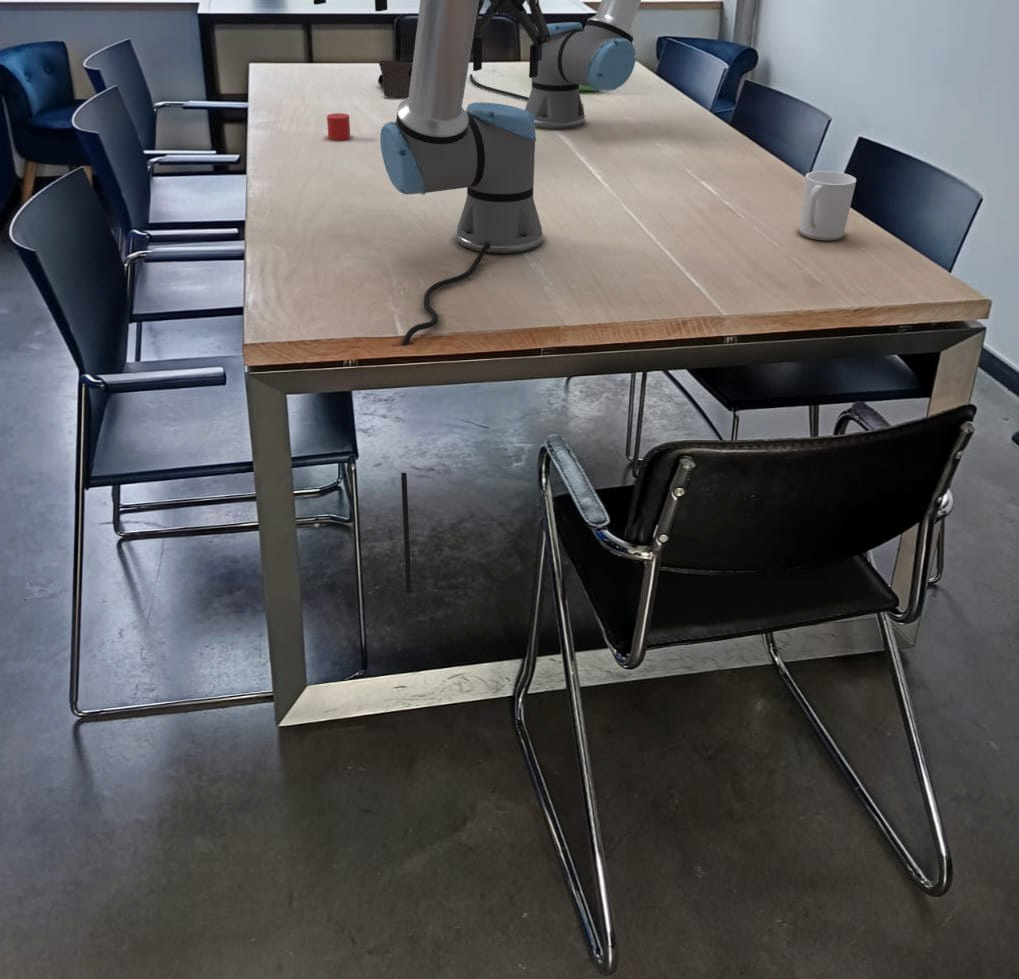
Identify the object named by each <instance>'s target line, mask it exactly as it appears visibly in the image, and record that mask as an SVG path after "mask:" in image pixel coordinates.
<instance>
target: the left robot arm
mask: <svg viewBox="0 0 1019 979" xmlns="http://www.w3.org/2000/svg"><path fill="white" fill-rule="evenodd" d="M324 4H327V0H313V5H317V6H318V5H324ZM478 4H479V0H420V1H419V8H418V15H417V16H418V17H417V26H416V33H415V42H414V49H413V59H412V60H413V61H412V63H413V66H412V74H411V82H410V90H409V97H408V98H404V99H403V100H402V101H401V102H400V103H399V104H398V106H397V112H396V120H395V122H394V121H389V122H387V123H384V125H383V126H382V127H381V130H380V136H379V137H380V141H379V142H380V151H381V156H382V160H383V164H384V168H385V171H386V173H387V175H388V178H389V180H390V182H391V183H392V185H393V187H394V188H395V189H396V190H397V191H398V193H401V194H403V195H419V194H420V195H426V194H427V193H428V194H429V193H436V192H443V191H451V190H458V189H465V188H466V192H467V193H466V198H465V202H464V205H463V209H462V211H461V214H460V218H459V220H458V224H457V228H456V241H457V243H458V244H459V245H461V246H462V247H464V248H466V249H468V250H470V251H475V252H478V254H477V256H476V258H474V260H473V262H472V264H471V266H470V268H469V269H468V270H466V271H464V273H462V274H459V275H456V276H452V277H449V278H446V279H442V280H439V281H438V282H435V283H433V284H432V285H431V286H429V288H428V289H427V290H426V291H425V293H424V296H423V306H424V309H425V310H426V311H427V312H428V314H430V316H431V320H430V321H428V322H427V321H426V322H422V323H417V324H416V325H414V326H412V327H410V329H409V330H408V331H407V332H406V334H405V335H404V337H403V339H402V342H401V346H403V347H404V346H408V345H409V343H410V340H411V339H412V337H413V335H414V334H416V333H417V332H419V331H422V330H426V329H430V328H432V327H434V326H436V324H437V323H438V321H439V317H438V316H439V315H438V313H437V312H436V310H434V308H433V307H432V306H431V305H430V304H431V303H430V298H431V296H432V294H433V293H434V292H435V291H436V290H438V289H439V288H442V287H444V286H448V285H451V284H454V283H458V282H461V281H463V280H465V279H467V278H469V277H470V276H471V275H473V274H474V272H476V269H477V267H478V266H479V265H480V263H481V261H482V260H483V257H484V256H485V254H497V255H499V254H500V255H506V254H507V255H508V254H517V253H524V252H527V251H530V250H533V249H536V248H538V247H539V246H540V245H541V244H542V243H543V229H542V224H541V221H540V220H541V219H540V218H539V214H538V213H539V212H538V210H537V206H536V204H535V199H534V184H535V181H534V180H535V157H536V156H535V154H536V152H535V151H536V142H537V137H536V136H537V135H536V127H535V120H534V118H533V116H532V115H531V114H530V113H529V112H528V111H526V110H525V109H523V108H521V107H517V106H514V105H510V104H509V105H508V104H503V103H495V102H486V101H485V102H484V101H483V102H481V101H479V102H477V101H476V102H472V103H469V104H468V105H467V106H466V109H464V108H463V103H464V96H465V89H466V84H467V79H468V78H467V77H468V72H469V67H470V66H469V65H470V58H471V55H472V54H471V47H472V41H473V35H474V29H475V26H476V24H477V23H476V22H477V20H476V17H477V11H478ZM387 10H388V0H374V11H375V12H377V13H378V12H383V11H387ZM400 474H401V475H400V478H401V480H400V481H401V502H402V504H401V505H402V523H403V524H402V525H403V545H404V546H403V547H404V571H405V572H404V574H405V593H406V594H407V595H410V594H412V574H411V571H412V570H411V546H410V522H409V521H410V520H409V499H408V496H409V495H408V473H407V472H400Z"/></svg>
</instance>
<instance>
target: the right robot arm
mask: <svg viewBox="0 0 1019 979" xmlns="http://www.w3.org/2000/svg"><path fill="white" fill-rule="evenodd" d="M485 1H486V0H479V4H478V11H477V17H476V21H477V20H478V18H479V16H480V13H481V11H482V8H483V6H484V4H485ZM641 1H642V0H601V1H600V4H599V7H598V9H597V11H596V14H595V15H593V16H592V17H589V18H587V20H586V23H585V25H584V27H583V24H582V23H581V22H577V21H576V22H575V21H572V22H571V21H570V22H555V23H547V22H546V20H545V17H544V14H543V11H542V8H541V6H540V0H489V2H490V4H489V5H488V8H487V9H486V10H485V12H484V13H483V15H482V16H481V18H480V19H479V20H478V22H477V23H475V29H474V35H473V41H472V47H471V54H470V55H472V71H473V72H478V71H481V70H482V69H483V37H480V36H481V33H483V31H484V30H485V28H486V27H487V26H488V25H489V24H490V22H491V20H493V18H494V17H495V15H506V16H514V17H515V18H516V19H517V20H518V21H519V22H520V24H521V26H522V27H523V29H524V31H525V32H526V34H527V35H528V37H529V39H530V40H531V41H532V42H531V45H529V67H528V68H529V69H528V71H529V72H528V78H530V79H531V90H530V93H529V96H525V95H521V94H518V93H514V92H510V91H505V90H503V89H502V90H501V89H498V88H495V87H491V86H487V85H484V84H482V83H480V82H477V81H476V80H475V79H474V76H473V74H472V73H470V74H469V79H470V81H471V83H472V84H474V85H475V86H478V87H479V88H481V89H485V90H487V91H491V92H493V93H494V92H495V93H498V94H502V95H506V96H510V97H513V98H517V99H521V100H525V101H527V103H526V104H525V108H524V110H526V111H528V112H529V113H530V114H531V115H532V116H533V118H534V120H535V128H538V129H544V130H571V129H577V128H580V127H582V126H584V125H585V121H586V120H585V119H586V115H585V106H584V103H583V102H582V99H581V95H580V94H581V93H580V90H579V85H583V86H588V87H592V88H594V89H596V90H598V91H601V90H603V91H614V90H617V89H618V88H620V87H622V86H623V85H624V84H626V82H627V81H628V80H629V78H630V77H631V75H632V74H633V71H634V69H635V65H636V57H635V56H636V49H635V46H634V45H633V41H634V37H635V36H634V35H633V32H632V30H631V28H632V26H633V23H634V21H635V18H636V15H637V12H638V10H639V7H640V4H641ZM525 2H526V4H527V6H528V8H529V10H530V13H531V16H532V19H533V20H532V19H531V18H530V16H529V14H528V12H527V10H526V8H525V6H524V4H525ZM533 22H534V23H533Z"/></svg>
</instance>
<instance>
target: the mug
mask: <svg viewBox="0 0 1019 979" xmlns="http://www.w3.org/2000/svg"><path fill="white" fill-rule="evenodd" d="M856 183H857V178H856V177H855V176H853V175H851V174H848V173H844V172H840V171H832V170H816V171H809V172H807V173H806V174H805V177H804V184H803V194H802V203H801V212H800V219H799V228H798V232H799V234H800V235H802V236H803V237H805V238H809V239H812V240H817V241H836V240H840V239H842V238H843V237H844V236H845V230H846V227H847V221H848V217H849V215H850V214H849V213H850V209H851V205H852V201H853V196H854V193H855V189H856Z"/></svg>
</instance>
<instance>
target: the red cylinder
mask: <svg viewBox="0 0 1019 979" xmlns="http://www.w3.org/2000/svg"><path fill="white" fill-rule="evenodd" d="M350 123H351V122H350V115H349V114H348V113H341V112H338V113H337V112H335V113H330V114H327V115H326V125H327V138H328V139H329V140H331V141H346V140H347V141H348V140H350V139H351V126H350Z"/></svg>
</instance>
